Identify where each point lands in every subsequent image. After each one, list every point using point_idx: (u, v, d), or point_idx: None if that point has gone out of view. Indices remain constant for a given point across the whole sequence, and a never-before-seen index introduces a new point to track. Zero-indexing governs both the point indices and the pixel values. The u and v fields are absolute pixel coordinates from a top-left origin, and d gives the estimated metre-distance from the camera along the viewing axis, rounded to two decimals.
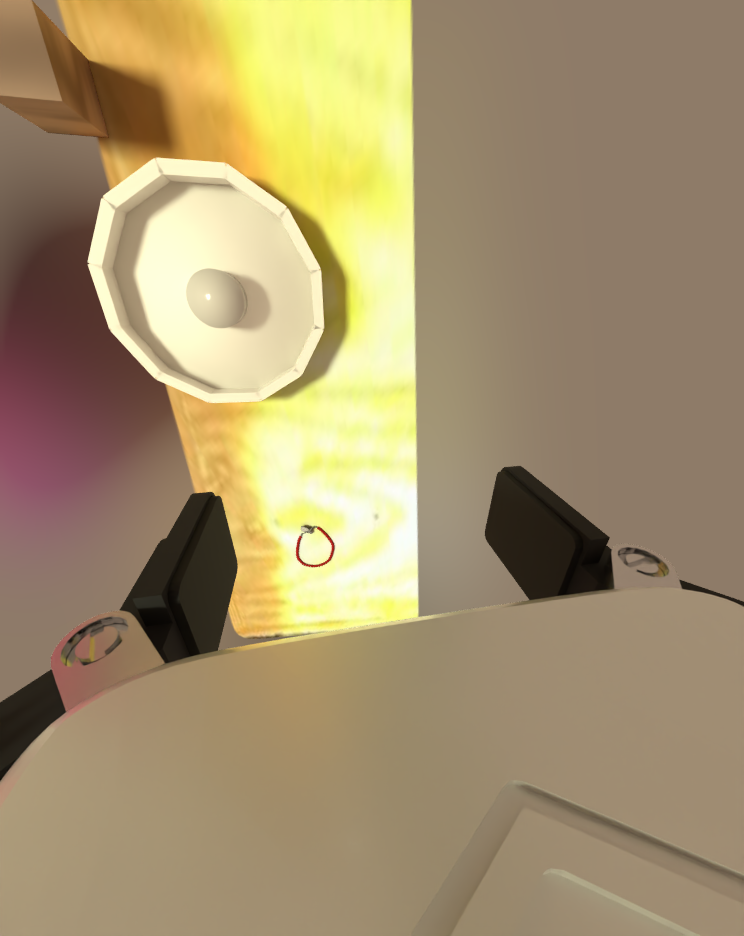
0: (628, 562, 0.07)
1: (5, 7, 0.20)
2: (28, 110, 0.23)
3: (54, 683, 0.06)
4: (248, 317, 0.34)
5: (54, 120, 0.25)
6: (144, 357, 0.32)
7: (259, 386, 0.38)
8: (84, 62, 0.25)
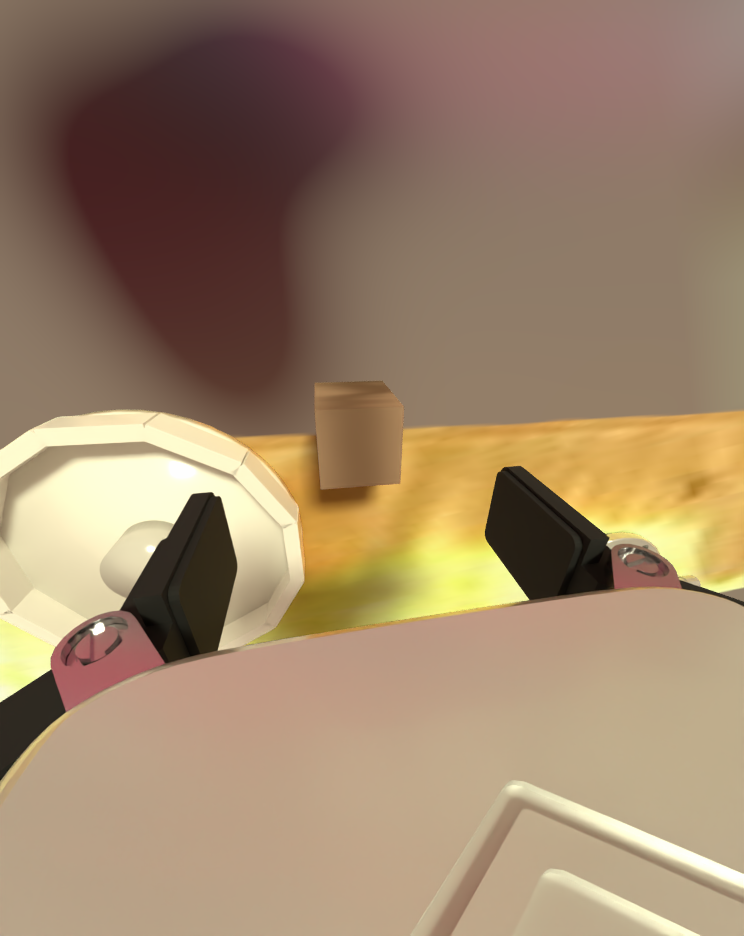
0: (628, 562, 0.07)
1: (392, 459, 0.18)
2: None
3: (54, 683, 0.06)
4: None
5: None
6: None
7: (36, 588, 0.23)
8: None
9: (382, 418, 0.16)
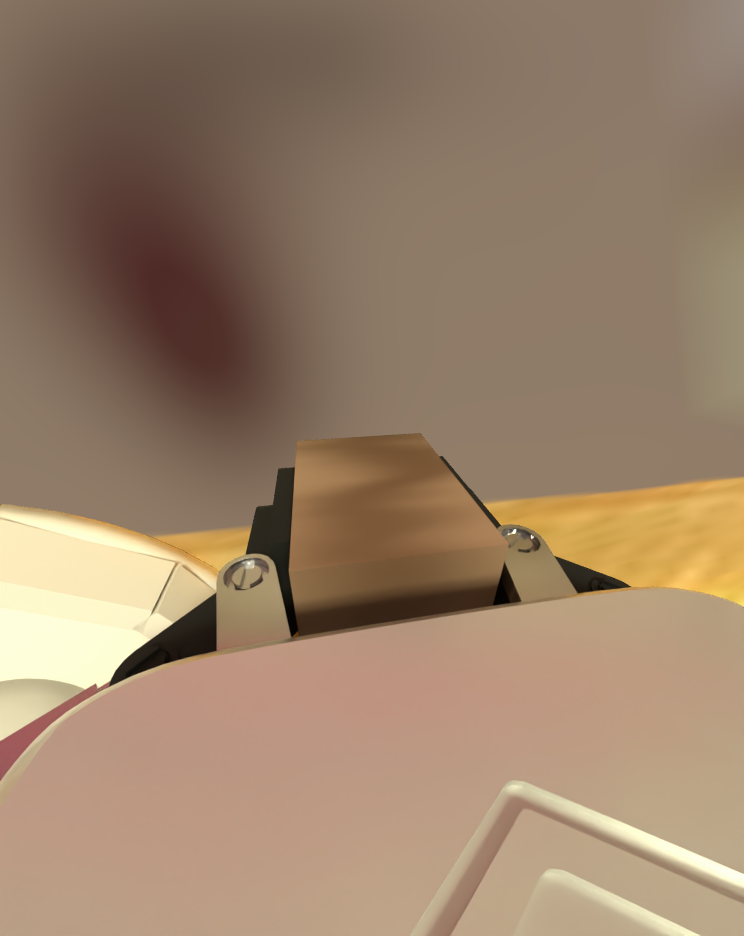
0: (510, 544, 0.08)
1: None
2: None
3: (215, 607, 0.07)
4: None
5: None
6: None
7: None
8: None
9: (457, 570, 0.07)
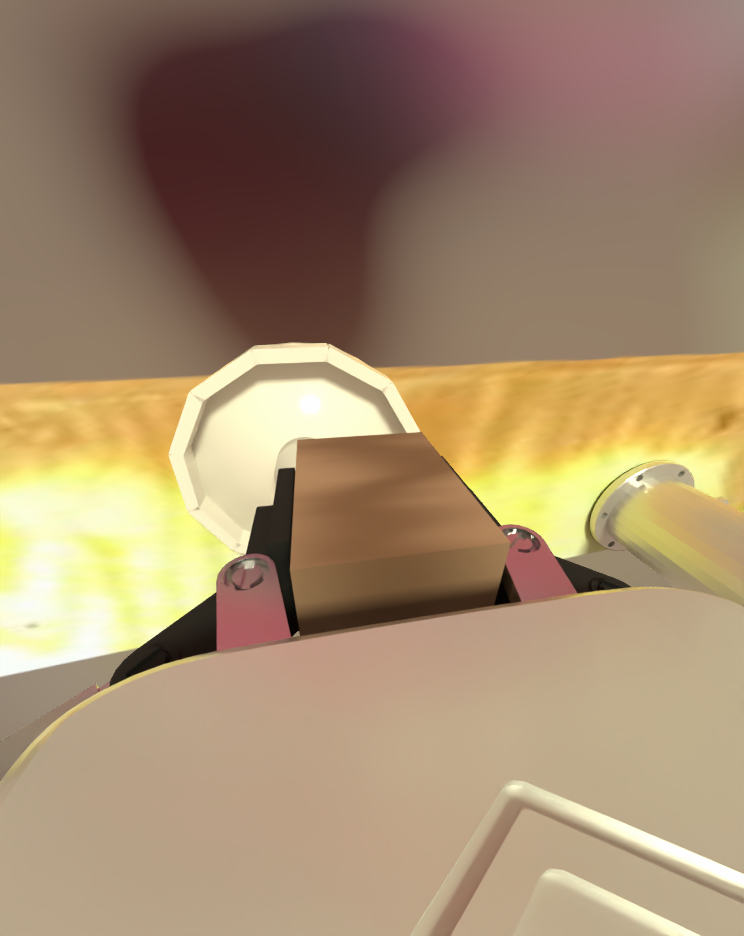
0: None
1: None
2: None
3: (215, 607, 0.07)
4: None
5: None
6: (219, 384, 0.23)
7: (207, 495, 0.29)
8: None
9: (458, 569, 0.07)
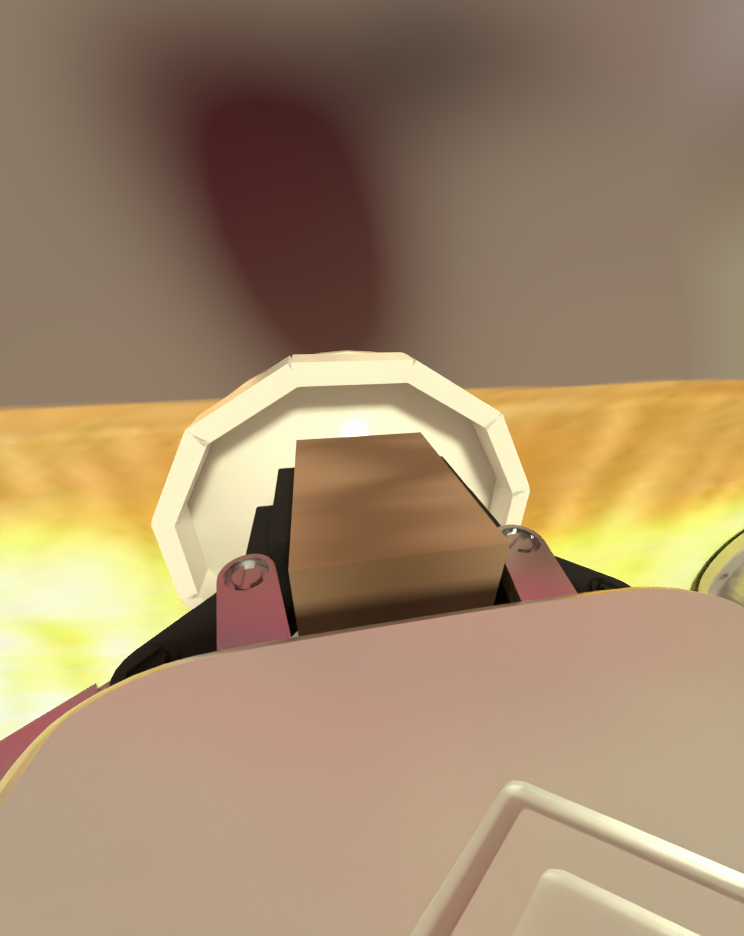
0: (510, 544, 0.08)
1: None
2: None
3: (215, 607, 0.07)
4: None
5: None
6: (235, 418, 0.14)
7: (210, 569, 0.20)
8: None
9: (457, 570, 0.07)
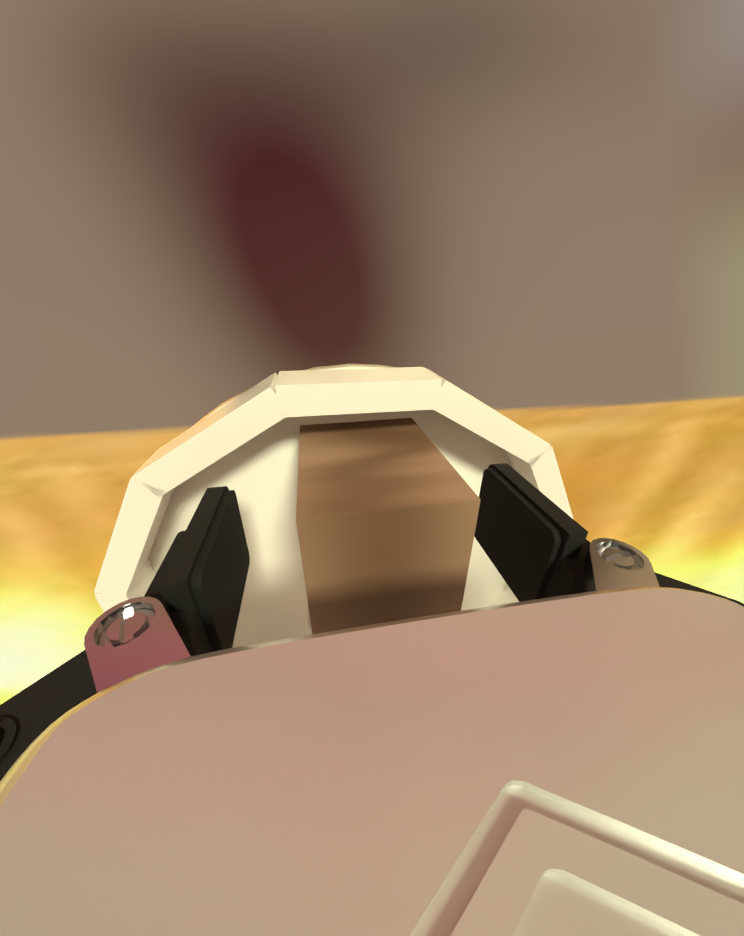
0: (606, 556, 0.08)
1: (449, 585, 0.09)
2: None
3: (86, 664, 0.06)
4: None
5: None
6: (200, 460, 0.10)
7: None
8: None
9: (437, 523, 0.08)
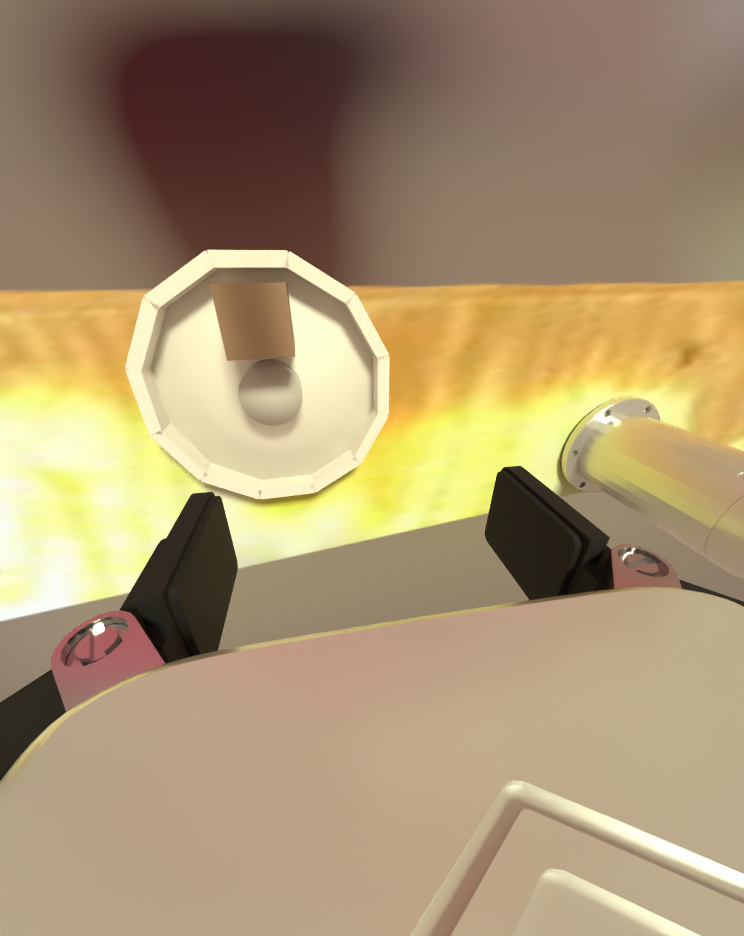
0: (628, 562, 0.07)
1: (284, 332, 0.22)
2: None
3: (54, 683, 0.06)
4: None
5: None
6: (175, 289, 0.22)
7: (171, 423, 0.28)
8: None
9: (269, 293, 0.20)
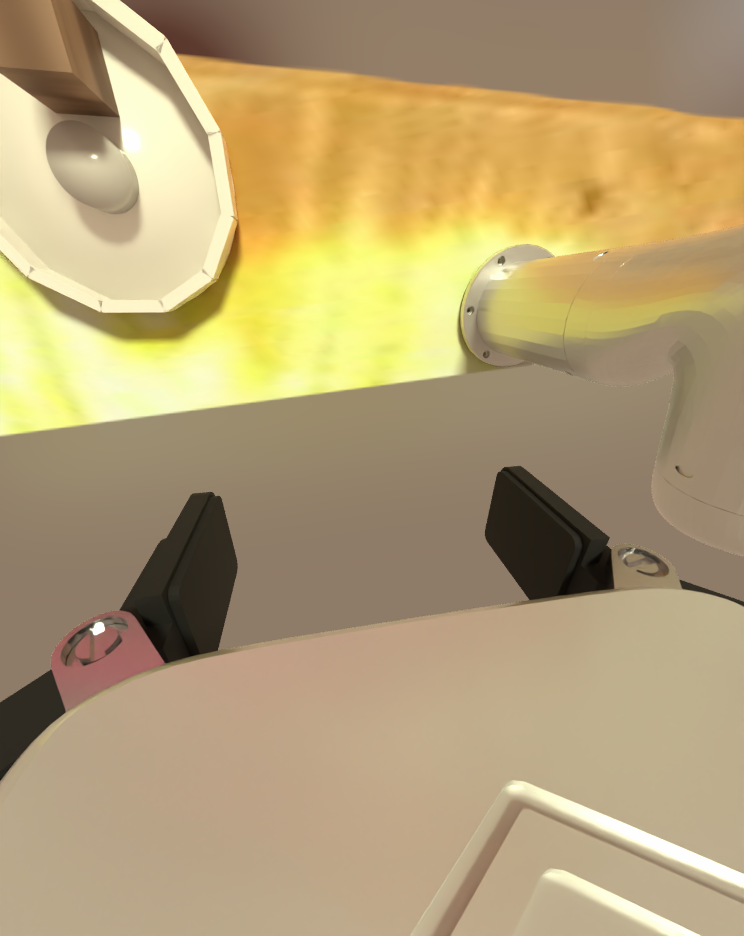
0: (628, 562, 0.07)
1: (52, 34, 0.20)
2: None
3: (54, 683, 0.06)
4: (92, 211, 0.28)
5: None
6: None
7: None
8: (109, 112, 0.25)
9: None
